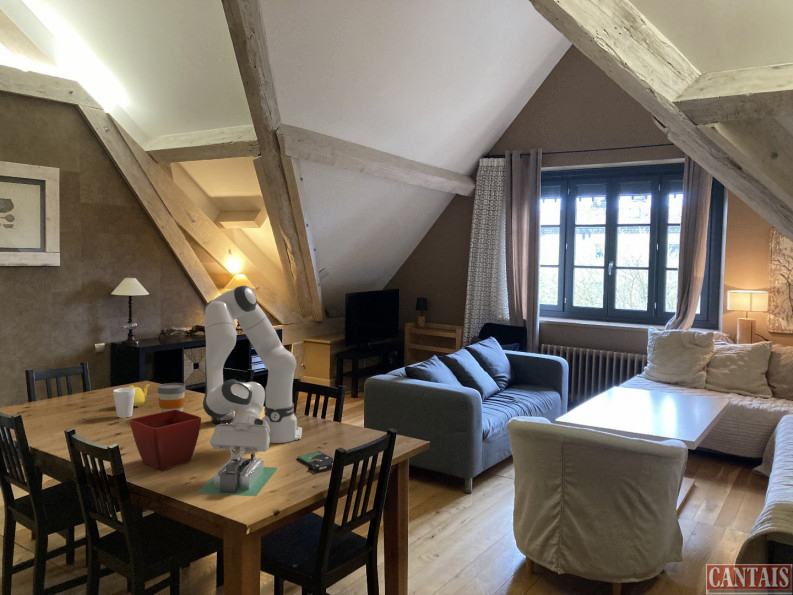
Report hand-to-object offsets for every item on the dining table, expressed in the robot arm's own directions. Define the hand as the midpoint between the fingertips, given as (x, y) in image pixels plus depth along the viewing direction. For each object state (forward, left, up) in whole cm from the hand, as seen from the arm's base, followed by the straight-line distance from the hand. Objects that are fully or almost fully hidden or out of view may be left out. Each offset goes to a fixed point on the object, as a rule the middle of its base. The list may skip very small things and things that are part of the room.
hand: (234, 460), depth 206 cm
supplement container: (-74, -32, -9) cm, 81 cm away
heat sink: (0, +1, -7) cm, 7 cm away
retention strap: (-1, +1, -3) cm, 3 cm away
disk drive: (-23, +24, -9) cm, 34 cm away
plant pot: (-19, -33, -9) cm, 39 cm away
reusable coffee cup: (-80, -59, -9) cm, 100 cm away
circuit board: (-2, +1, -8) cm, 9 cm away
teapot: (-96, -87, -9) cm, 130 cm away
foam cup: (-77, -81, -9) cm, 112 cm away
